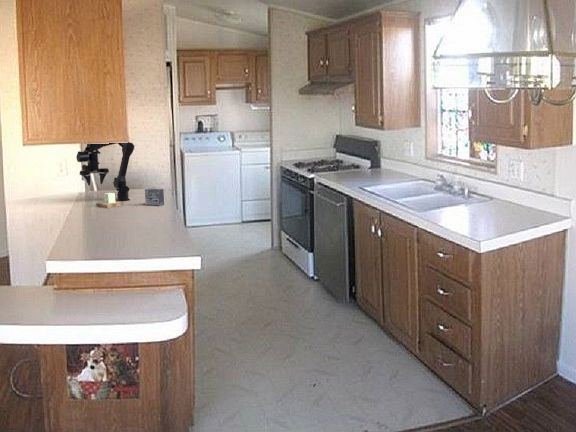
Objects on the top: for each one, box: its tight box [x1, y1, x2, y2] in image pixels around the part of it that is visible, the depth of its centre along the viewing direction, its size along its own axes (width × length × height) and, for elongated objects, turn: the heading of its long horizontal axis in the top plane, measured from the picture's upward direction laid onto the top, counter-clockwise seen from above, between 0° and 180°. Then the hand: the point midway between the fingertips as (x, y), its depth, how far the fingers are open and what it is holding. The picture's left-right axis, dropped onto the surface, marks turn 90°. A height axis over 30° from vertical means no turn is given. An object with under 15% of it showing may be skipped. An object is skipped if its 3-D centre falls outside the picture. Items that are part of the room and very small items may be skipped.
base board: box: [95, 200, 124, 209], centre depth 435 cm, size 12×12×2 cm
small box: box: [144, 188, 165, 207], centre depth 434 cm, size 11×6×10 cm, turn 71°
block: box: [103, 192, 116, 204], centre depth 435 cm, size 5×5×6 cm
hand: (95, 184), depth 443 cm, fingers open, 9 cm apart
